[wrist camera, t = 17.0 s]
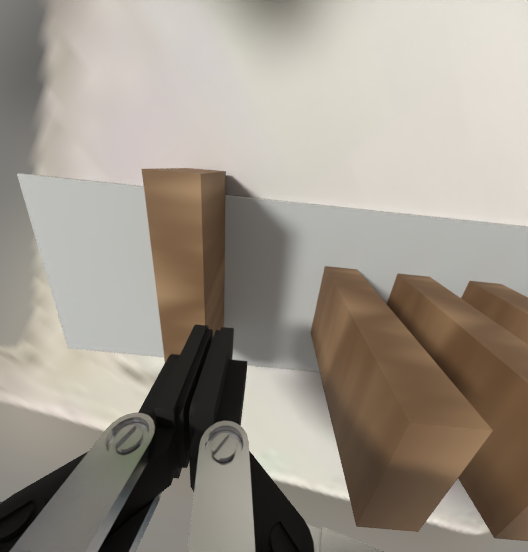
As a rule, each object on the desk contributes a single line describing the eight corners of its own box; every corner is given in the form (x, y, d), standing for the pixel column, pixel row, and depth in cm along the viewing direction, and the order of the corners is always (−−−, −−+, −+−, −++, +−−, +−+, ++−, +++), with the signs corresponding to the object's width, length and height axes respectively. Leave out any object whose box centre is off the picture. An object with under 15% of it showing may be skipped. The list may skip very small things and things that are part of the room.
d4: (357, 269, 15) (492, 430, 6) (338, 335, 17) (418, 531, 8) (324, 266, 15) (409, 422, 6) (310, 332, 17) (356, 526, 8)
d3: (429, 276, 15) (676, 447, 6) (402, 341, 17) (554, 542, 8) (397, 273, 15) (595, 439, 6) (374, 338, 17) (494, 538, 8)
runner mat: (638, 238, 14) (645, 239, 14) (526, 388, 19) (529, 391, 19) (22, 173, 13) (16, 173, 13) (71, 345, 18) (68, 348, 18)
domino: (200, 173, 8) (206, 386, 12) (225, 171, 13) (224, 327, 17) (141, 168, 8) (167, 383, 12) (187, 168, 13) (195, 325, 17)
